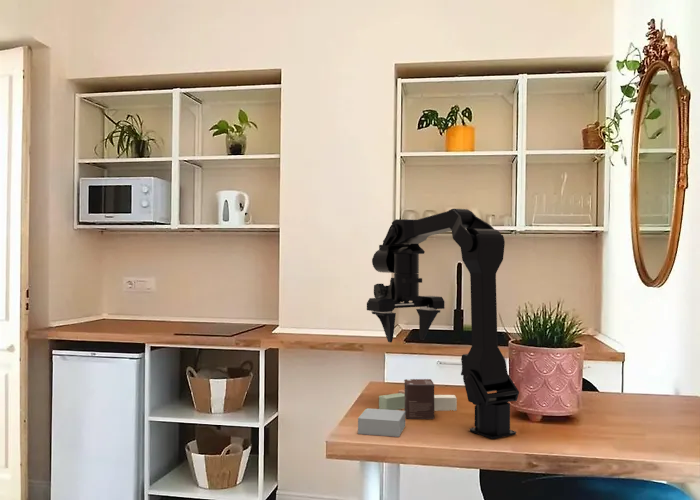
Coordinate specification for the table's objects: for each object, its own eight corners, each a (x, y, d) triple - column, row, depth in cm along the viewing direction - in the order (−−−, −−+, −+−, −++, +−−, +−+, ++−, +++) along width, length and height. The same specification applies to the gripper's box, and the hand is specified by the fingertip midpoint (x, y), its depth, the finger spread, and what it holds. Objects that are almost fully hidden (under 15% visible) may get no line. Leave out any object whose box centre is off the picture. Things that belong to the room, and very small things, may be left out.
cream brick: (454, 408, 143) (454, 394, 143) (456, 411, 140) (456, 397, 140) (427, 408, 143) (427, 394, 143) (429, 411, 140) (429, 397, 140)
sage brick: (400, 406, 144) (400, 392, 144) (408, 408, 142) (408, 395, 142) (378, 409, 141) (378, 395, 141) (386, 412, 139) (386, 398, 139)
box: (434, 419, 132) (434, 384, 132) (406, 419, 132) (406, 384, 132) (431, 412, 138) (431, 378, 138) (404, 412, 138) (404, 378, 138)
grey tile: (405, 425, 127) (405, 410, 127) (398, 436, 119) (399, 421, 120) (366, 422, 129) (366, 408, 129) (357, 433, 121) (357, 418, 121)
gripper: (417, 272, 158) (416, 334, 158) (353, 273, 148) (353, 339, 148) (446, 273, 148) (446, 339, 148) (380, 274, 139) (380, 345, 138)
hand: (406, 340), depth 146 cm, fingers open, 9 cm apart
